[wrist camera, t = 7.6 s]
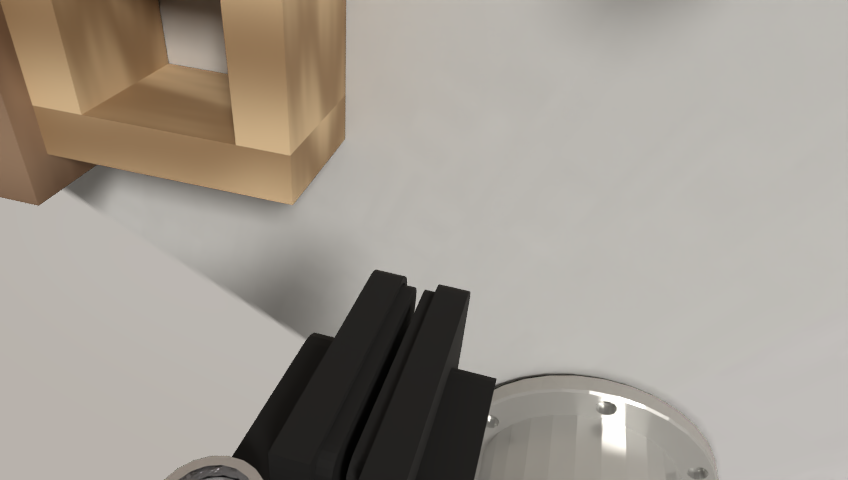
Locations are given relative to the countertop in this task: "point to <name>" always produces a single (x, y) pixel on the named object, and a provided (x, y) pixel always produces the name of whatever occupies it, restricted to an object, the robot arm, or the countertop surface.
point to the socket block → (188, 91)
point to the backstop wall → (26, 138)
